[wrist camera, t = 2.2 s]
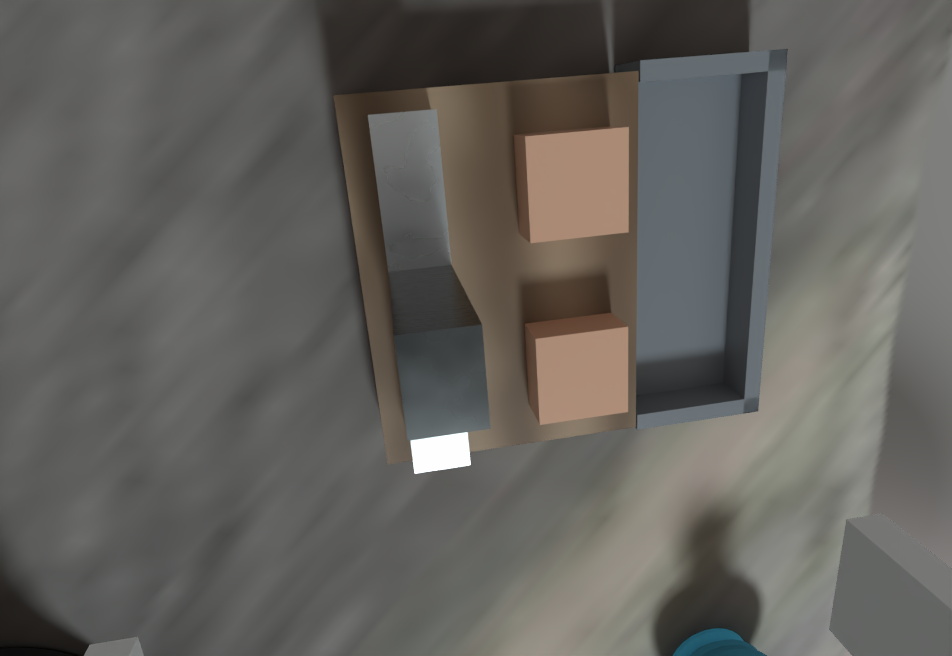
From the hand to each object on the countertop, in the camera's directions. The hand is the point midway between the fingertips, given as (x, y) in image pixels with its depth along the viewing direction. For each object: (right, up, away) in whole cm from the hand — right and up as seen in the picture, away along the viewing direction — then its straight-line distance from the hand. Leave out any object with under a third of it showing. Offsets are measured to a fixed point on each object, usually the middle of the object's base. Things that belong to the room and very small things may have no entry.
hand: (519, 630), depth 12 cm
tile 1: (+4, +4, +24) cm, 25 cm away
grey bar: (-4, +8, +21) cm, 23 cm away
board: (0, +9, +25) cm, 27 cm away
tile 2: (+4, +13, +20) cm, 25 cm away
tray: (+12, +11, +27) cm, 31 cm away
